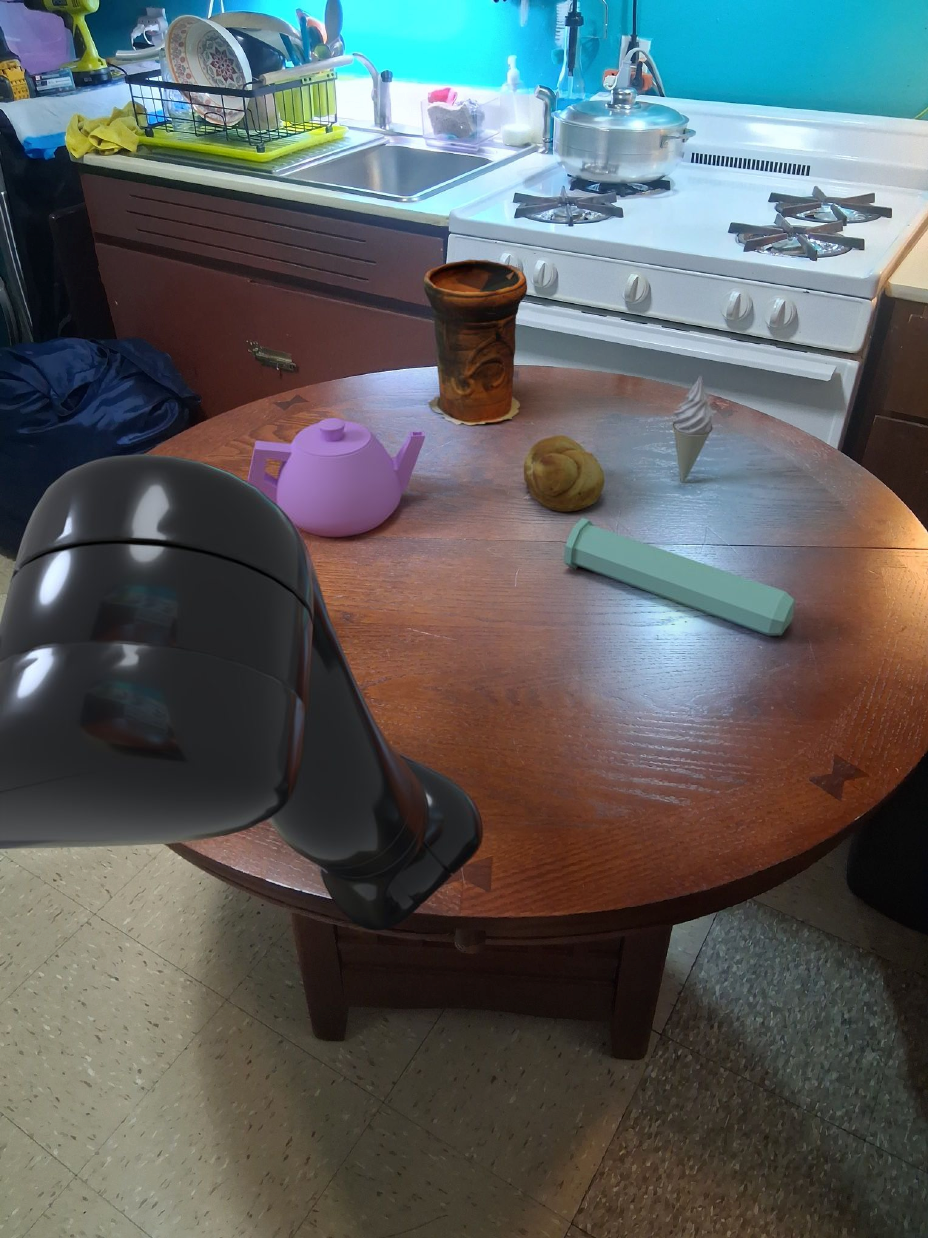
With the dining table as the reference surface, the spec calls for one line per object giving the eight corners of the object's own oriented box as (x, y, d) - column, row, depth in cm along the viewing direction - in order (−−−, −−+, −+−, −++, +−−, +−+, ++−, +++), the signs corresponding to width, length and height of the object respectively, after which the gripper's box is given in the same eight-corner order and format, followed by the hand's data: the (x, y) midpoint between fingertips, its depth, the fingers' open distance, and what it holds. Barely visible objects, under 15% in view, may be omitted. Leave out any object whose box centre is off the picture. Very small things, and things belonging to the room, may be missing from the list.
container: (806, 581, 88) (585, 507, 99) (784, 627, 86) (560, 547, 96) (799, 611, 93) (589, 538, 104) (778, 656, 91) (566, 576, 101)
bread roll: (511, 472, 118) (513, 417, 113) (580, 464, 119) (585, 410, 114) (537, 523, 108) (540, 466, 103) (611, 514, 110) (618, 457, 105)
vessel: (451, 438, 126) (448, 297, 113) (413, 398, 136) (407, 266, 123) (539, 418, 130) (546, 281, 118) (496, 382, 140) (499, 252, 128)
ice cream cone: (656, 483, 115) (672, 375, 106) (675, 468, 118) (692, 362, 109) (690, 496, 113) (710, 386, 103) (709, 480, 116) (730, 372, 106)
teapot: (254, 553, 104) (236, 463, 96) (253, 486, 115) (238, 402, 108) (437, 532, 107) (434, 444, 99) (418, 470, 118) (414, 386, 111)
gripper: (361, 624, 66) (267, 529, 77) (182, 702, 60) (105, 586, 70) (368, 695, 71) (279, 596, 81) (203, 774, 65) (128, 656, 75)
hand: (199, 592), depth 76 cm, fingers open, 8 cm apart
